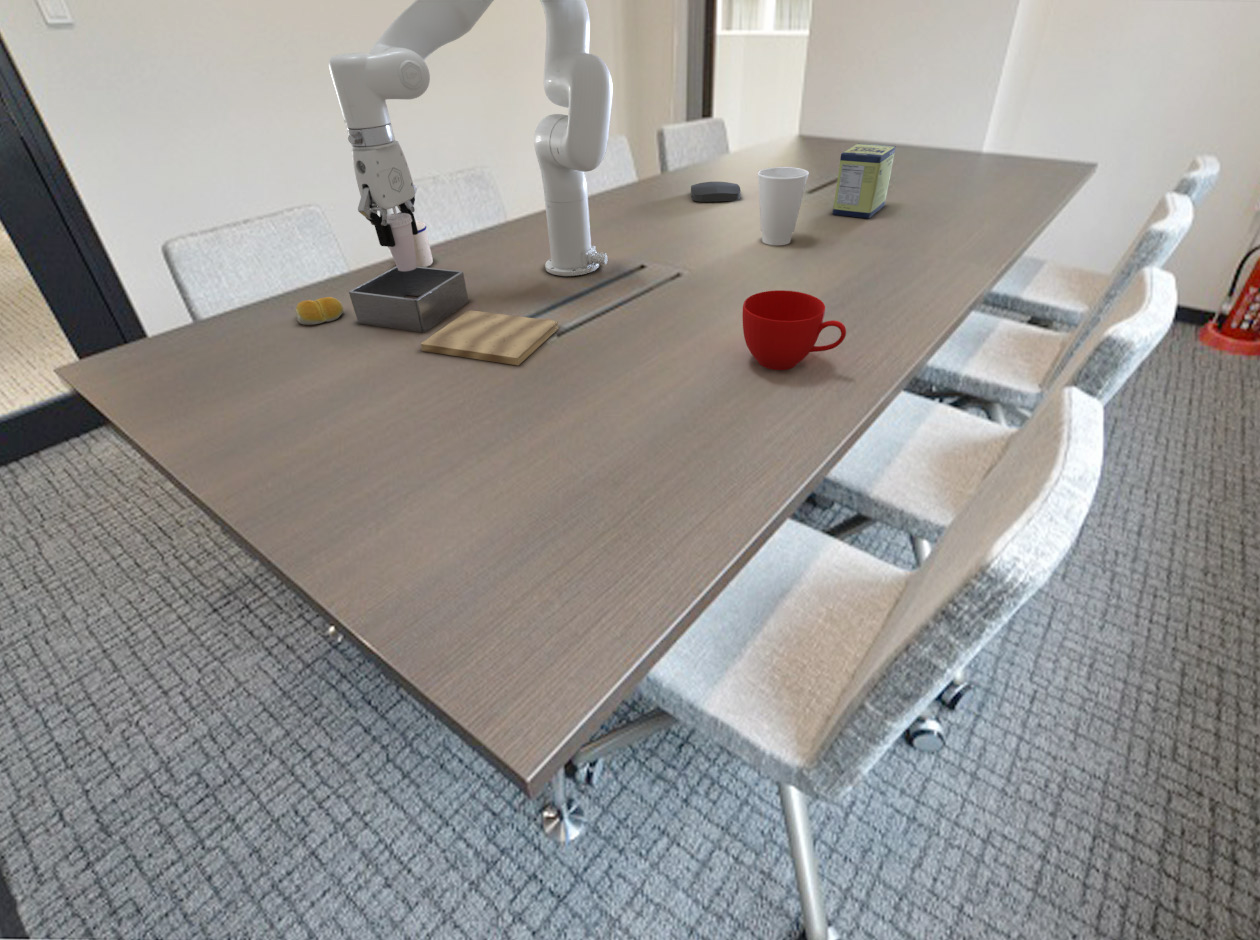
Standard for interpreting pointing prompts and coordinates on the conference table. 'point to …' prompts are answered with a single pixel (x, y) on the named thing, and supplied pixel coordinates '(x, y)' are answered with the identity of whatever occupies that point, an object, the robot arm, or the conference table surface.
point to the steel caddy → (389, 309)
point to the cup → (780, 202)
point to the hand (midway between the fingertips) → (399, 239)
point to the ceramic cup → (785, 327)
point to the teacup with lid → (422, 246)
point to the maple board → (491, 337)
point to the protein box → (863, 180)
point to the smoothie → (402, 241)
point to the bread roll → (318, 310)
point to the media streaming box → (715, 191)
